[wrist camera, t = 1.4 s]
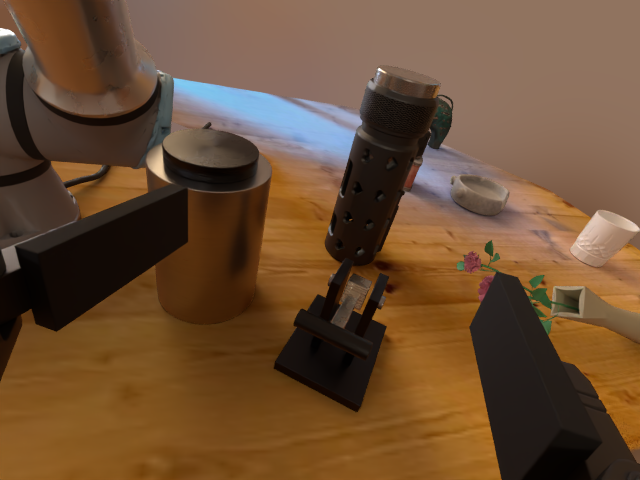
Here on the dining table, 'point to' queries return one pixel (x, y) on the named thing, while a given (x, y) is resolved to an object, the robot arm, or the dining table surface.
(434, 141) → the ceramic cat
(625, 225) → the white cup
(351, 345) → the switch lever
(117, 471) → the dining table surface
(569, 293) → the flower vase
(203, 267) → the metal tumbler
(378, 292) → the switch base
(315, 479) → the dining table surface
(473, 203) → the dish
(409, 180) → the lighter
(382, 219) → the muzzle brake
